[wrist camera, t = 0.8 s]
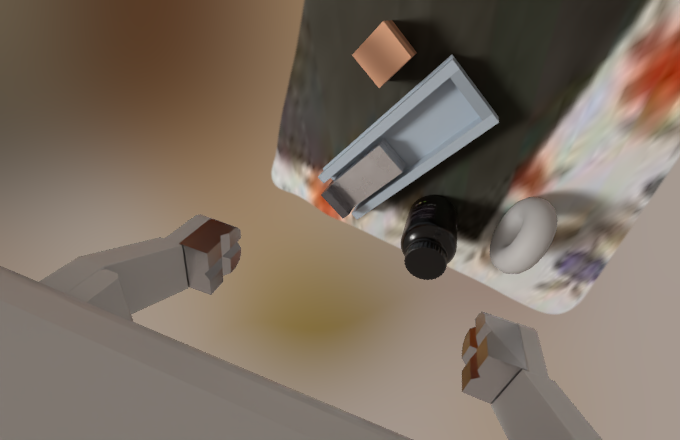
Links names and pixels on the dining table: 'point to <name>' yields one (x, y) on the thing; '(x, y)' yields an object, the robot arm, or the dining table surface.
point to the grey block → (363, 178)
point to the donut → (523, 235)
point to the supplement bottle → (429, 237)
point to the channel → (421, 129)
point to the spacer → (384, 52)
